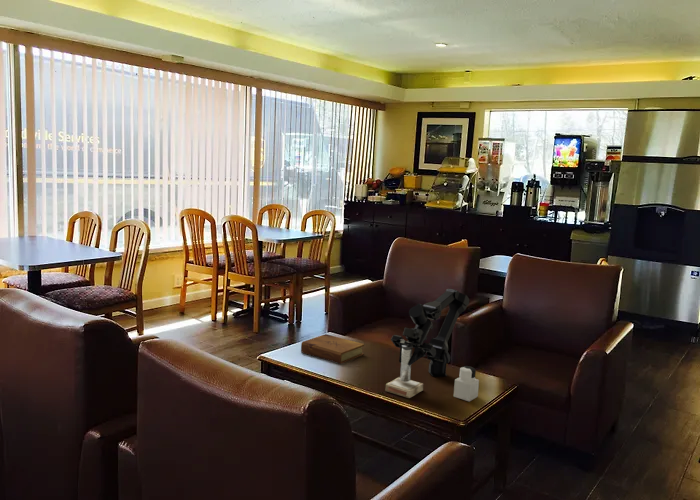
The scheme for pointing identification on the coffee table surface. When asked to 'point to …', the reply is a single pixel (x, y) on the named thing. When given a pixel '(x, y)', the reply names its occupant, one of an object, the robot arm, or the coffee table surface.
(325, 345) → the diary
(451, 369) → the coffee table surface
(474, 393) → the medicine bottle
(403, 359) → the steel flask
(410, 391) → the cream napkin pack
